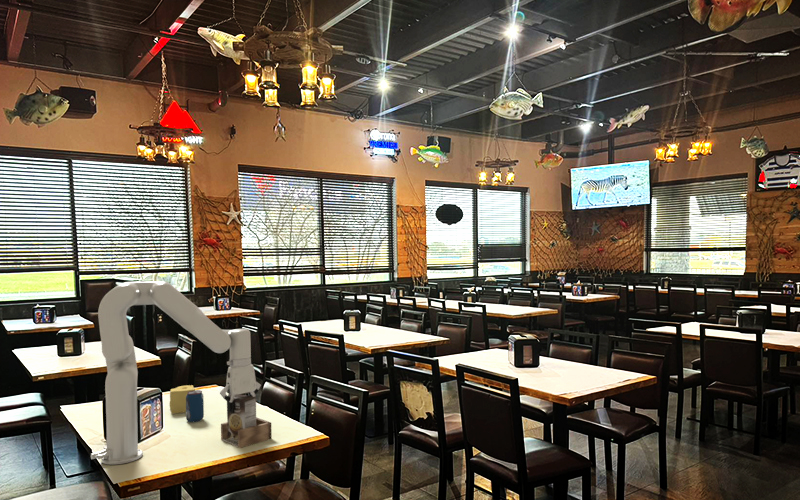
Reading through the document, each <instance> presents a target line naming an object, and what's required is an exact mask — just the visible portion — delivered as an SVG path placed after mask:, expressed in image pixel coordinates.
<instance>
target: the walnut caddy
mask: <svg viewBox="0 0 800 500" xmlns="http://www.w3.org/2000/svg"><path fill="white" fill-rule="evenodd" d="M220 439H221V441H223V442H224V443H227V444H230V445H232V446H235V447H236V446H237V448H239V449H241V448H245V447H248V446H251V444H252V445H254V444H258V443H261V442H265V441H268V439H269V440H272V439H273V438H272V422H271V421H268V420H265V419H264V418H263V419H262V418H259V417H257V416H256V426H253V427H249V428H245V429H241V430H238V443H236V442H231V441H228V427H227V421H226V422H223V423H220ZM244 446H245V447H244Z"/></svg>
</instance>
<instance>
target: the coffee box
mask: <svg viewBox="0 0 800 500" xmlns="http://www.w3.org/2000/svg"><path fill="white" fill-rule="evenodd" d="M233 402H234V413H230V412H229V411H228V402H227V401H226V417H227V421H226V422H227V427H228V439H227V440H228V441H231V442H233V443H235V444H238V430H241V429H245V428H249V427H253V426H256V417H257V397H256V396H255V397H252V396H249V395H246V394H245V395H244V394H240V395H235V397H234V399H233Z"/></svg>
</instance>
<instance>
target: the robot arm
mask: <svg viewBox="0 0 800 500" xmlns="http://www.w3.org/2000/svg"><path fill="white" fill-rule="evenodd" d="M148 305H149V306H150V305H155V306H156V307H158V308H159V309H160V310H161V311H163V312H164V313H165V314H166V315H168V316H169V317H170V318H171V319H173V321H175V322H176V323H177V324H178V325H180V326H181V327H182V328H183V329H185V330H186V331H188V333H190V334H192V335H193V337H195V338H197V339H198V340H199V341H200V342H201V343H203V345H205V346H206V347H207V348H208V349H210V350H211V351H212V352H214V353H217V354H223V353H225V352H226V351H228V350H229V359H228V361H226V365H227V366H228V368H227V373H226V383H225V386H224V388H222V390H220V391H219V394H220V395H221V397H222V398H223V399H224V400H225V401H226V403H227V402H228V411H229V412H230V413H234V402H233V399H234V397H235V395H244V394H245V395H246V394H248V395H247V396H252V397H256V395H257V393H258V392H259V390H260V389H261V386H262V384H260V383H259V382H258V381H257V380H256V372H255V368H254V364H252V358H251V357H252V355H251V354H252V353H251V351H252V349H251V348H252V347H251V346H252V345H251V342H252V341H251V340H252V339H251V331H250V330H249V329H248V328H235V329H222V328H220V327H219V326H218V325H217V324H215V323H214V322H213V321H212V320H211V319H210V317H209V318H208V316H207V315H206V314H205V313H204V311H202V310H201V309H200V308H199V307H198V306H197V305H196V304H195V303H193V302H192V301H191V300H190V299H189V298H187V297H186V296H185V295H184V294H183V293H181V291H179V290H178V289H177V288H176V287H174V286H173V285H172V284H171V283H170V282H168V281H164V280H162V281H161V280H160V281H125V282H122V283H118V285H116V286H115V287H114V288H112V289H110V290H109V291H108V292H107V293H106V294H105V295H104V296H103V297H102V299H101V300H100V303H99V307H98V309H97V310H98V311H97V312H98V313H97V314H98V315H97V317H98V326H99V335H100V341H101V342H100V343H101V353H102V355H103V357H104V358H105V365H106V369H107V370H106V371H107V374H106V377H105V382H104V383H105V385H104V387H105V388H104V390H105V414H106V415H105V417H106V418H105V419H106V421H105V422H106V423H105V424H106V446H103V449H101V450H100V451H96V452H92V453H90V459H91V460H94V459H97V460H101V463H102V464H105V465H122V464H127V463H128V464H129V463H132V462H134V461H137V460H139V459H141V458H142V457H143V454H144V452H143V451H144V450H142V449H141V448H140V449H139V448H138V447H139V443H138V442H139V440H138V439H139V438H138V432H139V431H138V428H139V427H138V374H139V371H138V365H137V359H136V352H135V351H136V350H135V345H134V341H133V337H131V335H129V326H128V318H127V312H128V310H129V308H131V307H132V306H148Z"/></svg>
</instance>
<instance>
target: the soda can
mask: <svg viewBox="0 0 800 500" xmlns="http://www.w3.org/2000/svg"><path fill="white" fill-rule="evenodd" d="M204 402H205V401H204V393H203V390H199V389H198V390H196V389H195V391H189V392H188V393H187V396H186V412H185V419H186V421H187V422H188V423H192V424H193V423H199V422H201V421H202V420H203V419H204V417H205V416H204V415H205V411H204V408H205V405H204V404H205V403H204Z"/></svg>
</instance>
